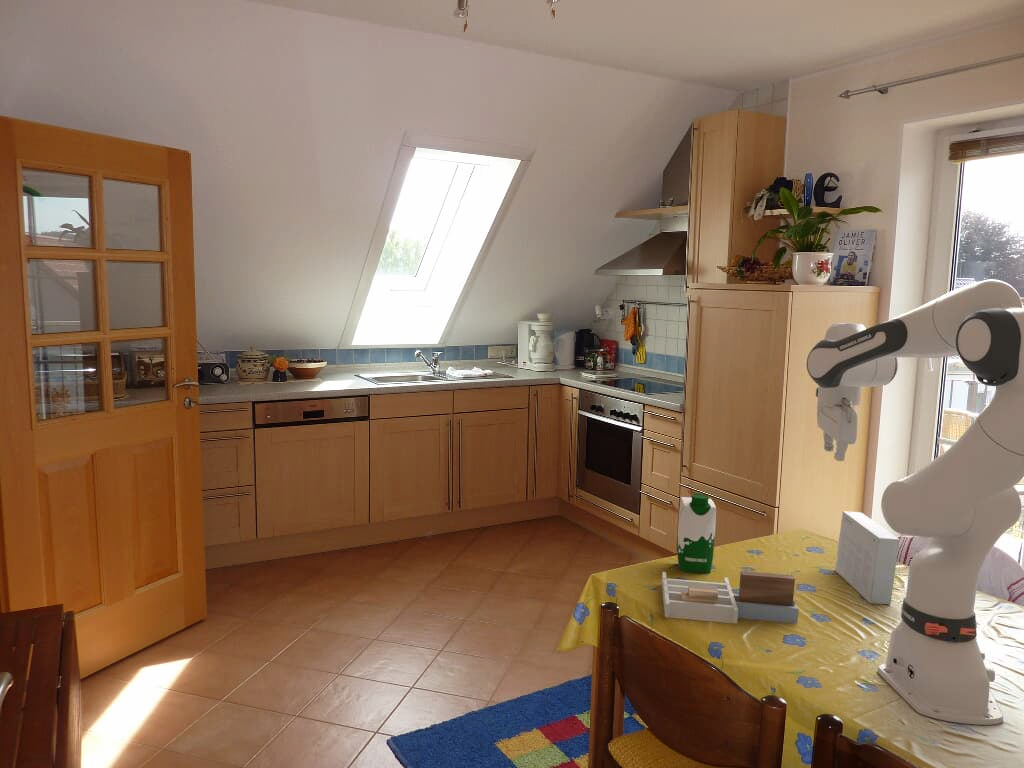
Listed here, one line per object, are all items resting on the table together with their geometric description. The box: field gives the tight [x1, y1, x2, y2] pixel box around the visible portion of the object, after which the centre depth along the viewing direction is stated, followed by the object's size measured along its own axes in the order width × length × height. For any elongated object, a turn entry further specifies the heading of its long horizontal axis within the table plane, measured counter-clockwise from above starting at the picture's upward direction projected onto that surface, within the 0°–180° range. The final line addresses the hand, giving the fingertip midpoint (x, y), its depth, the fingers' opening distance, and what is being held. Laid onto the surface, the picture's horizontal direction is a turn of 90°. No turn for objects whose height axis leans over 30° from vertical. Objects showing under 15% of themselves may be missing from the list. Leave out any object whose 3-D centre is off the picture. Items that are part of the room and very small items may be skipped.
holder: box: [733, 593, 800, 624], centre depth 170 cm, size 6×13×4 cm, turn 81°
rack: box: [661, 571, 739, 624], centre depth 175 cm, size 18×15×4 cm
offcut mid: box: [681, 592, 715, 604], centre depth 169 cm, size 3×7×2 cm, turn 81°
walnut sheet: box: [738, 570, 796, 607], centre depth 169 cm, size 2×11×9 cm, turn 81°
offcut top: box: [688, 585, 718, 601], centre depth 169 cm, size 3×6×2 cm, turn 81°
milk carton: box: [676, 493, 717, 574], centre depth 195 cm, size 9×9×20 cm
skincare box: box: [834, 510, 900, 605], centre depth 188 cm, size 21×6×16 cm, turn 179°
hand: (833, 455), depth 177 cm, fingers open, 8 cm apart
